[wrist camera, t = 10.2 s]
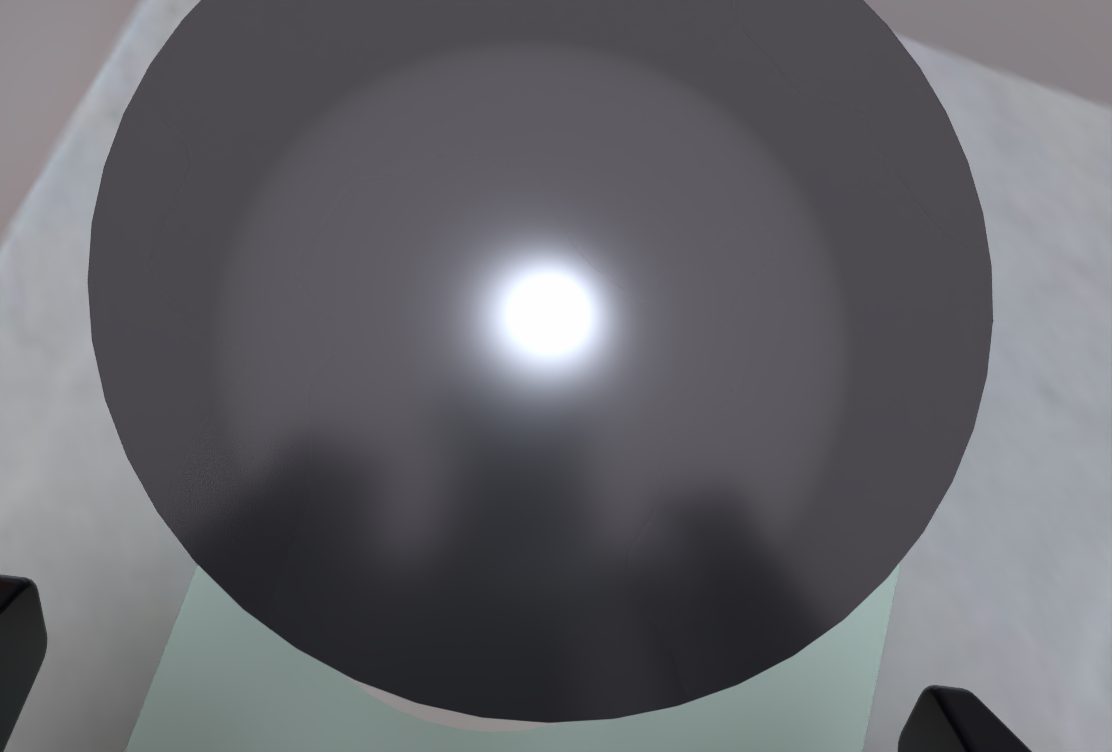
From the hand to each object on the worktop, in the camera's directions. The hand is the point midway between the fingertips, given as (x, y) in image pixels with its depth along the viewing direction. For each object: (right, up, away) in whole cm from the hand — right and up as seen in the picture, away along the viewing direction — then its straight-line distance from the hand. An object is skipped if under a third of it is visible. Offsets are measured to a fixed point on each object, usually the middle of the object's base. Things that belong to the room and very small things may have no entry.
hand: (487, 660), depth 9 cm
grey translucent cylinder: (0, +1, +8) cm, 8 cm away
